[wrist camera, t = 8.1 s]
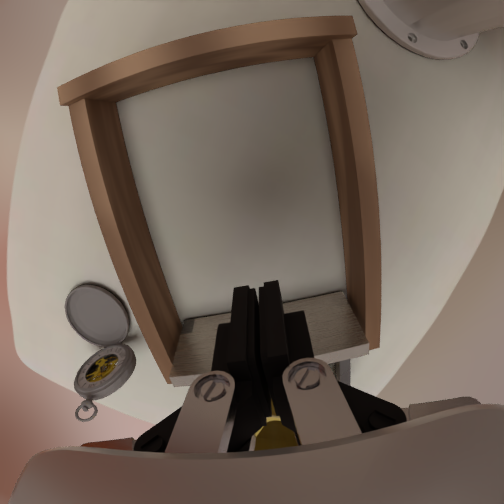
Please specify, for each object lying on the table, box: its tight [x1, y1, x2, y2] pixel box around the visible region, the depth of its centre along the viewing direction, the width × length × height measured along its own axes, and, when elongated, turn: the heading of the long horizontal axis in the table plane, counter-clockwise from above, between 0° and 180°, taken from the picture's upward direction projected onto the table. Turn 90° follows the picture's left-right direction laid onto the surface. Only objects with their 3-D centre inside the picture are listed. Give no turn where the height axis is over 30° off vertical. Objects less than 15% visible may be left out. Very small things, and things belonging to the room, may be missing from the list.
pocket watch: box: [65, 285, 136, 422], centre depth 22 cm, size 8×8×10 cm
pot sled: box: [169, 291, 369, 387], centre depth 25 cm, size 14×15×7 cm
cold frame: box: [57, 16, 381, 384], centre depth 20 cm, size 17×23×6 cm
